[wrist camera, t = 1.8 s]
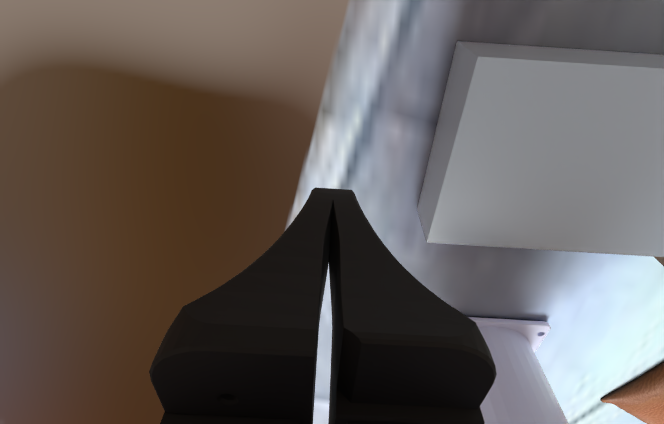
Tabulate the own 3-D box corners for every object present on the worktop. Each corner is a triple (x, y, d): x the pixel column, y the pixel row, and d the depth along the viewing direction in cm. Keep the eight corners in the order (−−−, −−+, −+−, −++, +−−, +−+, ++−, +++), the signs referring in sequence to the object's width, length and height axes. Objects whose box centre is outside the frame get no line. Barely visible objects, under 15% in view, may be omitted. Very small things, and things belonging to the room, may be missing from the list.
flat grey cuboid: (654, 223, 21) (695, 259, 19) (416, 209, 21) (426, 242, 18) (772, 61, 16) (851, 81, 13) (456, 41, 16) (477, 56, 13)
